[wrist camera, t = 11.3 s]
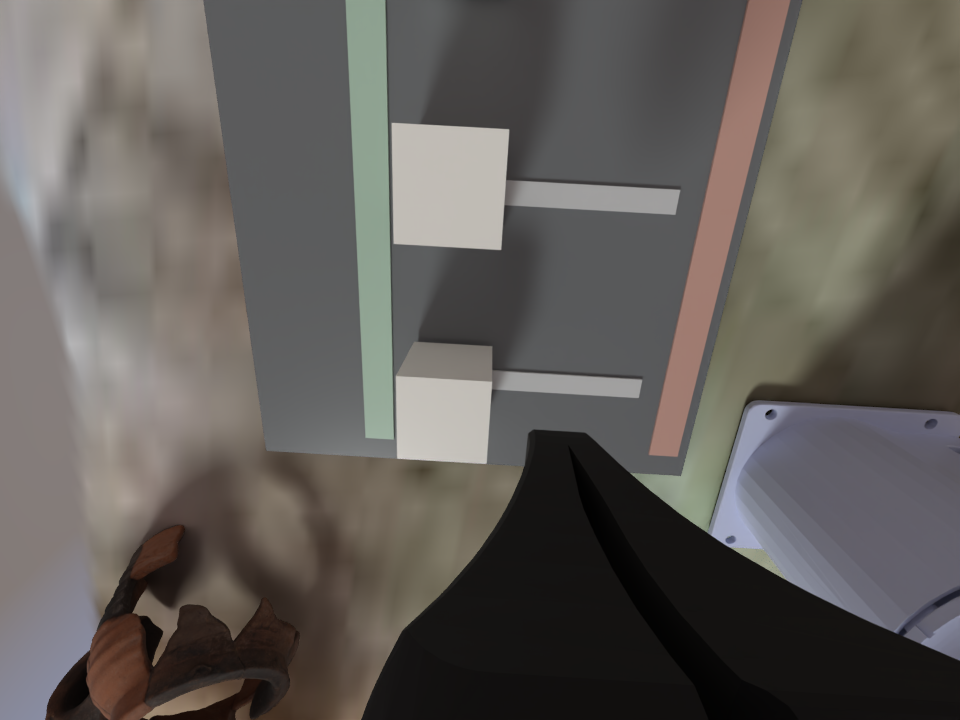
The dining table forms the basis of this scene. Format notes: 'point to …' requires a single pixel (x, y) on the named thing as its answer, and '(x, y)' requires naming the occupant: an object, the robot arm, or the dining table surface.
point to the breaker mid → (448, 185)
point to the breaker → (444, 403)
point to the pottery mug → (173, 655)
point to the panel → (527, 207)
